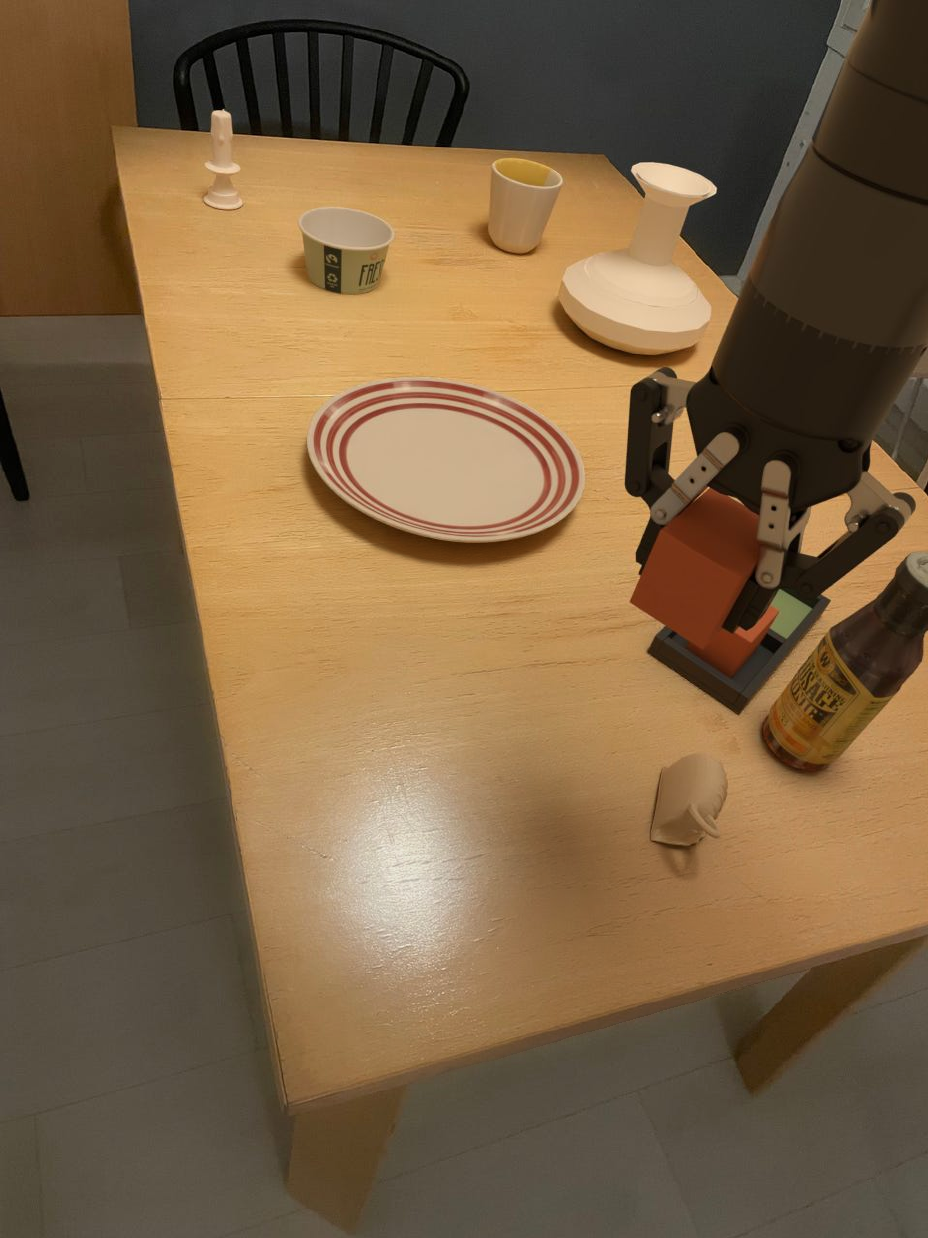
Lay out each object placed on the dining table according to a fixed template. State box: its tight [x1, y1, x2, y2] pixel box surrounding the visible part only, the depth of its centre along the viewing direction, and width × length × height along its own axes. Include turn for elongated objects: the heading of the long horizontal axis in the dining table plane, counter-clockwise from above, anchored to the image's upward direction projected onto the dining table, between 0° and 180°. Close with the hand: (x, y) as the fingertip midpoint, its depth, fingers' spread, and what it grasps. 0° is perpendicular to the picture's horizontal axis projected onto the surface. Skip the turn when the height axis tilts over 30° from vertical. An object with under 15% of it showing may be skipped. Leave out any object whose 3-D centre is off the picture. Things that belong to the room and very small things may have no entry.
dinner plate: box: [306, 376, 586, 544], centre depth 86 cm, size 28×27×3 cm
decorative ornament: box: [650, 752, 729, 847], centre depth 62 cm, size 4×8×5 cm, turn 161°
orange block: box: [629, 487, 759, 649], centre depth 45 cm, size 4×6×5 cm
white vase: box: [557, 161, 718, 356], centre depth 110 cm, size 20×20×19 cm
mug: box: [487, 157, 564, 255], centre depth 127 cm, size 14×10×10 cm
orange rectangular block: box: [685, 605, 779, 679], centre depth 74 cm, size 4×6×5 cm
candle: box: [203, 108, 244, 211], centre depth 119 cm, size 5×5×12 cm
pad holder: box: [647, 588, 832, 715], centre depth 78 cm, size 9×17×2 cm, turn 140°
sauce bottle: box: [762, 550, 928, 772], centre depth 63 cm, size 7×6×20 cm
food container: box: [297, 206, 396, 295], centre depth 111 cm, size 12×12×6 cm
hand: (692, 596), depth 46 cm, fingers closed on orange block, 4 cm apart
